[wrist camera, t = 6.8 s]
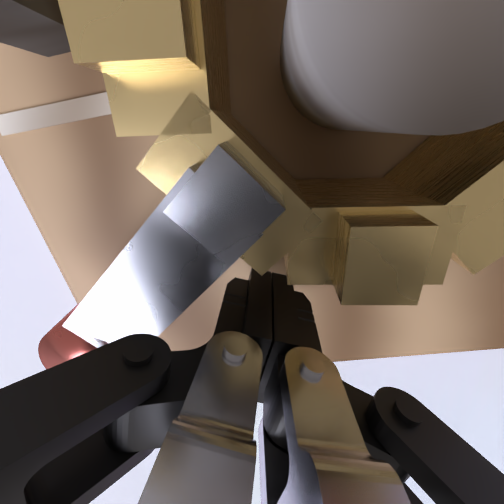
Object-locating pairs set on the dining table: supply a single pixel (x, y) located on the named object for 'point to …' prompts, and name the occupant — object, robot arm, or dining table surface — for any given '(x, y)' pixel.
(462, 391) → the dining table surface
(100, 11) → the gold ring with lever
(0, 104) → the jig board
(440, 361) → the dining table surface
